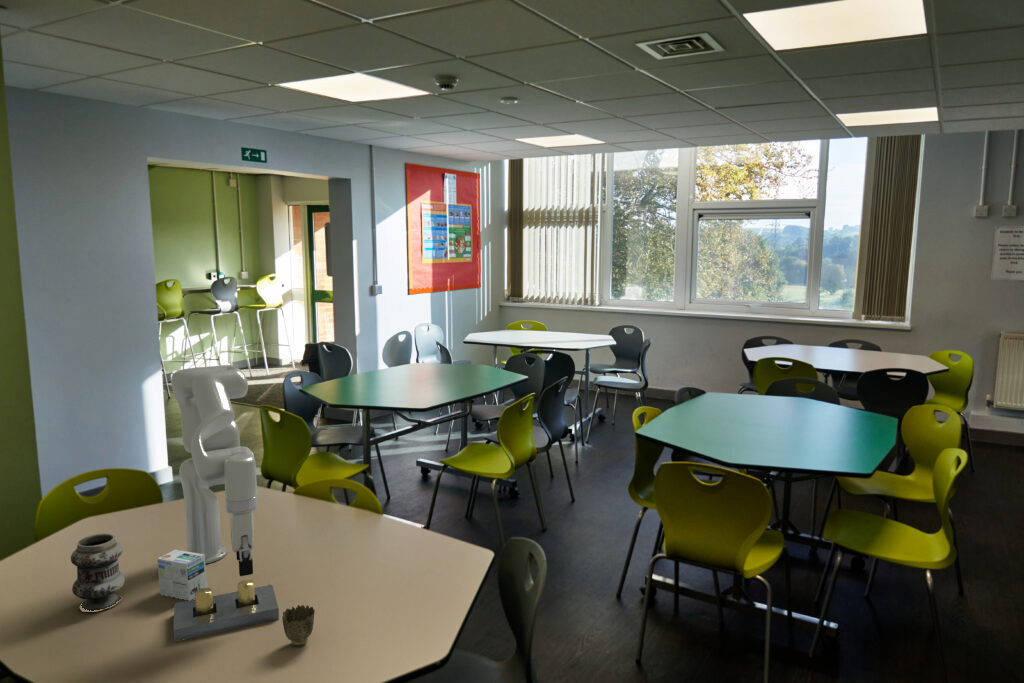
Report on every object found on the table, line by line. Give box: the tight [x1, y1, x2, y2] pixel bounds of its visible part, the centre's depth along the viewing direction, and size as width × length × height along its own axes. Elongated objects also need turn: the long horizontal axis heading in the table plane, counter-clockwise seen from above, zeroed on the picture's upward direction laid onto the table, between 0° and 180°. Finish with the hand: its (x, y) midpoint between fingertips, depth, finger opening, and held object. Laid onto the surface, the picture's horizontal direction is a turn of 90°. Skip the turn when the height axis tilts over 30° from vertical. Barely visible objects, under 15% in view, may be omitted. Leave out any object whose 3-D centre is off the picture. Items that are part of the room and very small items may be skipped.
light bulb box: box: [156, 549, 208, 601], centre depth 187 cm, size 11×7×11 cm, turn 71°
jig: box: [173, 584, 280, 642], centre depth 175 cm, size 14×24×3 cm, turn 116°
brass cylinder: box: [237, 579, 255, 608], centre depth 177 cm, size 4×4×8 cm
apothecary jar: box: [70, 533, 126, 611], centre depth 181 cm, size 12×12×18 cm
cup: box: [281, 604, 316, 648], centre depth 162 cm, size 8×7×8 cm
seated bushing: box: [194, 587, 214, 617], centre depth 172 cm, size 4×4×8 cm
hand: (244, 566), depth 176 cm, fingers open, 9 cm apart
